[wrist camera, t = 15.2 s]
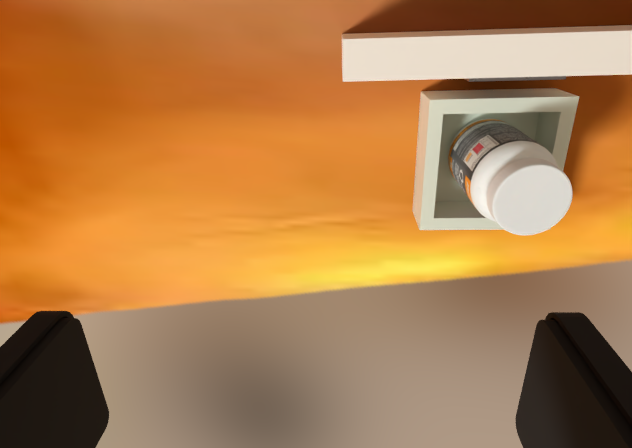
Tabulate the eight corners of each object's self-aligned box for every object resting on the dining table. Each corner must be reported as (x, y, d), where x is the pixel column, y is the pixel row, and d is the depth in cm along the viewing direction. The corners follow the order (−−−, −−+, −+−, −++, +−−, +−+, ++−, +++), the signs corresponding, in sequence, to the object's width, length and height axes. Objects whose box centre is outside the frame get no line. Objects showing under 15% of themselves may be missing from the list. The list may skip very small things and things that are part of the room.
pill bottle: (430, 161, 36) (462, 213, 27) (480, 101, 34) (532, 136, 25) (484, 198, 37) (531, 259, 28) (535, 142, 35) (603, 189, 26)
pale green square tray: (420, 91, 34) (429, 99, 31) (555, 88, 33) (579, 96, 30) (412, 210, 38) (419, 229, 35) (531, 209, 38) (550, 229, 34)
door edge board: (341, 33, 32) (342, 39, 26) (654, 24, 31) (734, 27, 25) (342, 74, 34) (342, 88, 27) (643, 66, 33) (717, 79, 26)
